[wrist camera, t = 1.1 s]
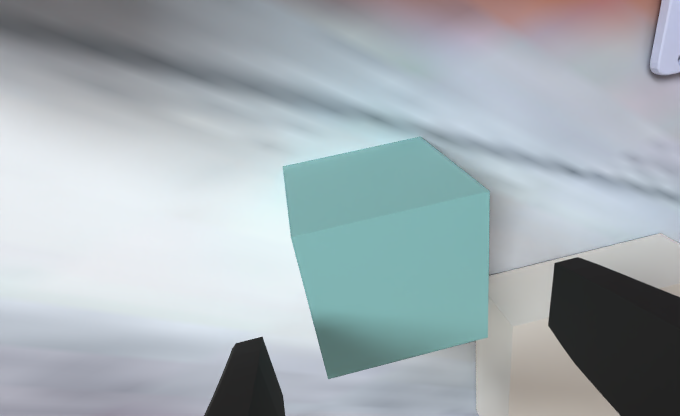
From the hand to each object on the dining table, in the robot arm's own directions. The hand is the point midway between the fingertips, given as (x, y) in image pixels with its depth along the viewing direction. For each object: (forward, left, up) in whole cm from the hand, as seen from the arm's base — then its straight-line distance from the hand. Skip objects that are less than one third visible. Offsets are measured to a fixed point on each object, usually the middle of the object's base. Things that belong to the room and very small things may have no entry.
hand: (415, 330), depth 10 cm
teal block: (0, 0, -6) cm, 6 cm away
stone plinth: (-9, +9, -6) cm, 14 cm away
